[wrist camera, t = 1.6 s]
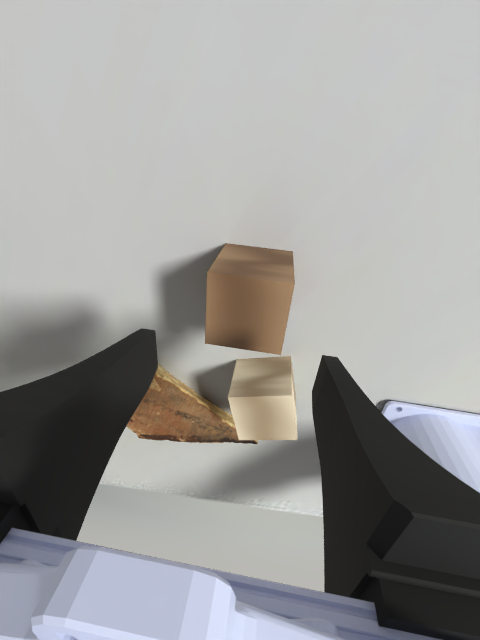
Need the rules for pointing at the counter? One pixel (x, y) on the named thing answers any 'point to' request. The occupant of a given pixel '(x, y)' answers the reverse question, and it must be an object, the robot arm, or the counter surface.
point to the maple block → (264, 399)
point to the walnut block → (249, 298)
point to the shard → (181, 415)
